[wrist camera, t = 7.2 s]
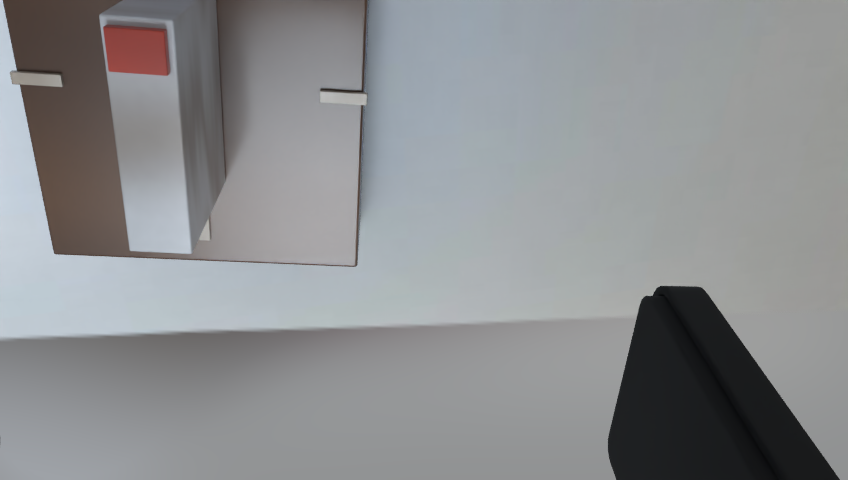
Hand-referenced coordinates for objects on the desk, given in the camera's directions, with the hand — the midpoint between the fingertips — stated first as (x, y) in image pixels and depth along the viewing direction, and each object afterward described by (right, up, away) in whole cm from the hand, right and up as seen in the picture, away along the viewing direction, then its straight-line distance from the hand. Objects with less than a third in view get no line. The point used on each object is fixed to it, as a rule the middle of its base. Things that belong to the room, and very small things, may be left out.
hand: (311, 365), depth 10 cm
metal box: (-5, +6, +11) cm, 14 cm away
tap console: (-5, +8, +14) cm, 16 cm away
